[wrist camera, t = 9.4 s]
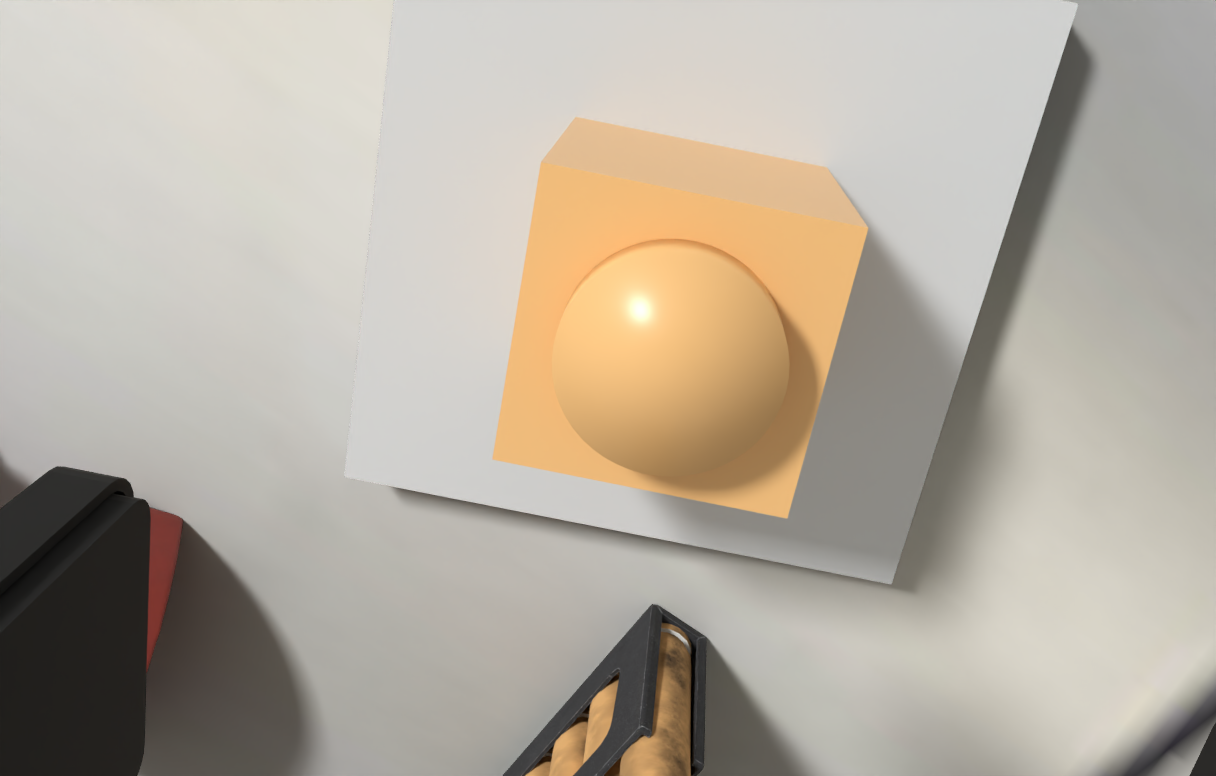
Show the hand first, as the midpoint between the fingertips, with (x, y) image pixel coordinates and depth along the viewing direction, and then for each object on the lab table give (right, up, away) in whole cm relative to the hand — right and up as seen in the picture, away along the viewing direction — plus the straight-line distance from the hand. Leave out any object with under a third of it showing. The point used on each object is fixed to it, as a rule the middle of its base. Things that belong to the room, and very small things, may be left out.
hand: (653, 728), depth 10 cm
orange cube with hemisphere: (+1, +6, +15) cm, 17 cm away
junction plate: (+1, +6, +17) cm, 18 cm away
